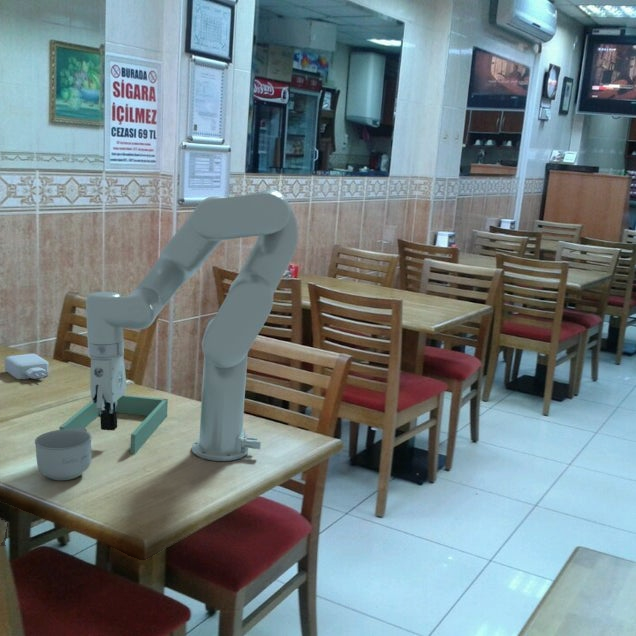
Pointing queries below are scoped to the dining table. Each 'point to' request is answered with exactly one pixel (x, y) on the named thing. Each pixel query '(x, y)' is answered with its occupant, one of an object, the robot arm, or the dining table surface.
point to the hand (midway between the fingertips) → (109, 428)
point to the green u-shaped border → (128, 405)
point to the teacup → (63, 453)
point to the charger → (26, 366)
